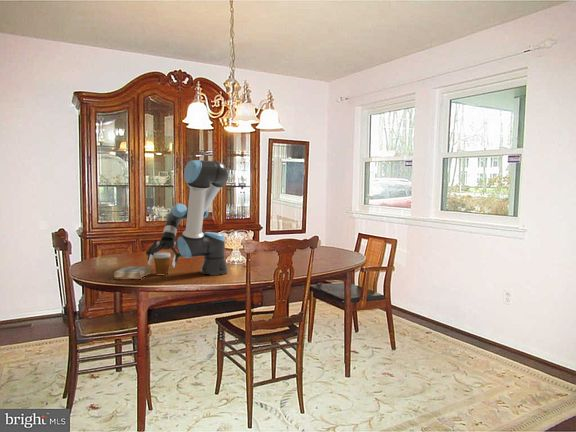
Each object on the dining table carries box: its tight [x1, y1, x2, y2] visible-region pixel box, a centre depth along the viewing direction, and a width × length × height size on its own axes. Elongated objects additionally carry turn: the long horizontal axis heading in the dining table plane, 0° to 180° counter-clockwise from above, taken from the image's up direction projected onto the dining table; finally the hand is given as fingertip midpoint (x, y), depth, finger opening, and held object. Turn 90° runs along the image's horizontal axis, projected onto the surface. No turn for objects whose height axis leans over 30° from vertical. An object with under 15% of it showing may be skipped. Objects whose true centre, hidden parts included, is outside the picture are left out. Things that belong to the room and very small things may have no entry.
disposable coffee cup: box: [153, 251, 172, 274], centre depth 239 cm, size 10×10×12 cm
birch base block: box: [113, 265, 151, 278], centre depth 233 cm, size 14×14×4 cm
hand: (160, 265), depth 237 cm, fingers open, 13 cm apart
